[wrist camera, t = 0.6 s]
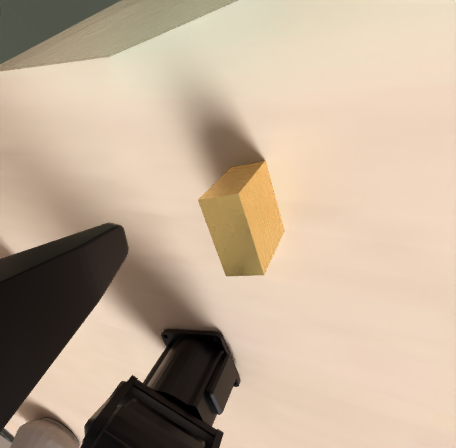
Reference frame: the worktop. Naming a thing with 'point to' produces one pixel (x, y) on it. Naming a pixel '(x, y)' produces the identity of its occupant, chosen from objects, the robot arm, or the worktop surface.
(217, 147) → the worktop surface
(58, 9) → the box
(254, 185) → the gold rectangular block
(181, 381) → the robot arm
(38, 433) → the coffee pot
